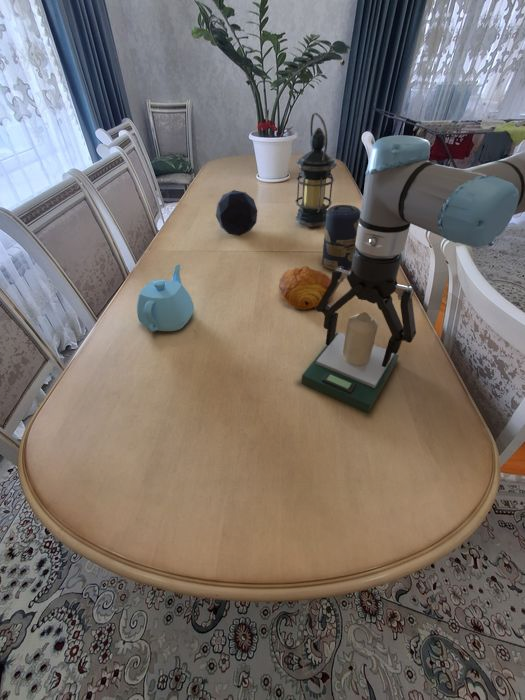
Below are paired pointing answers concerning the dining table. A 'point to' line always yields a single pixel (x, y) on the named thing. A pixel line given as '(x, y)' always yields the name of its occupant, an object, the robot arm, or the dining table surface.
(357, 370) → the scale
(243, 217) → the decorative orb
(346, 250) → the canister
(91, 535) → the dining table surface
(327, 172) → the lantern
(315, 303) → the croissant
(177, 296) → the teapot
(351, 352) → the candle
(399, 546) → the dining table surface
